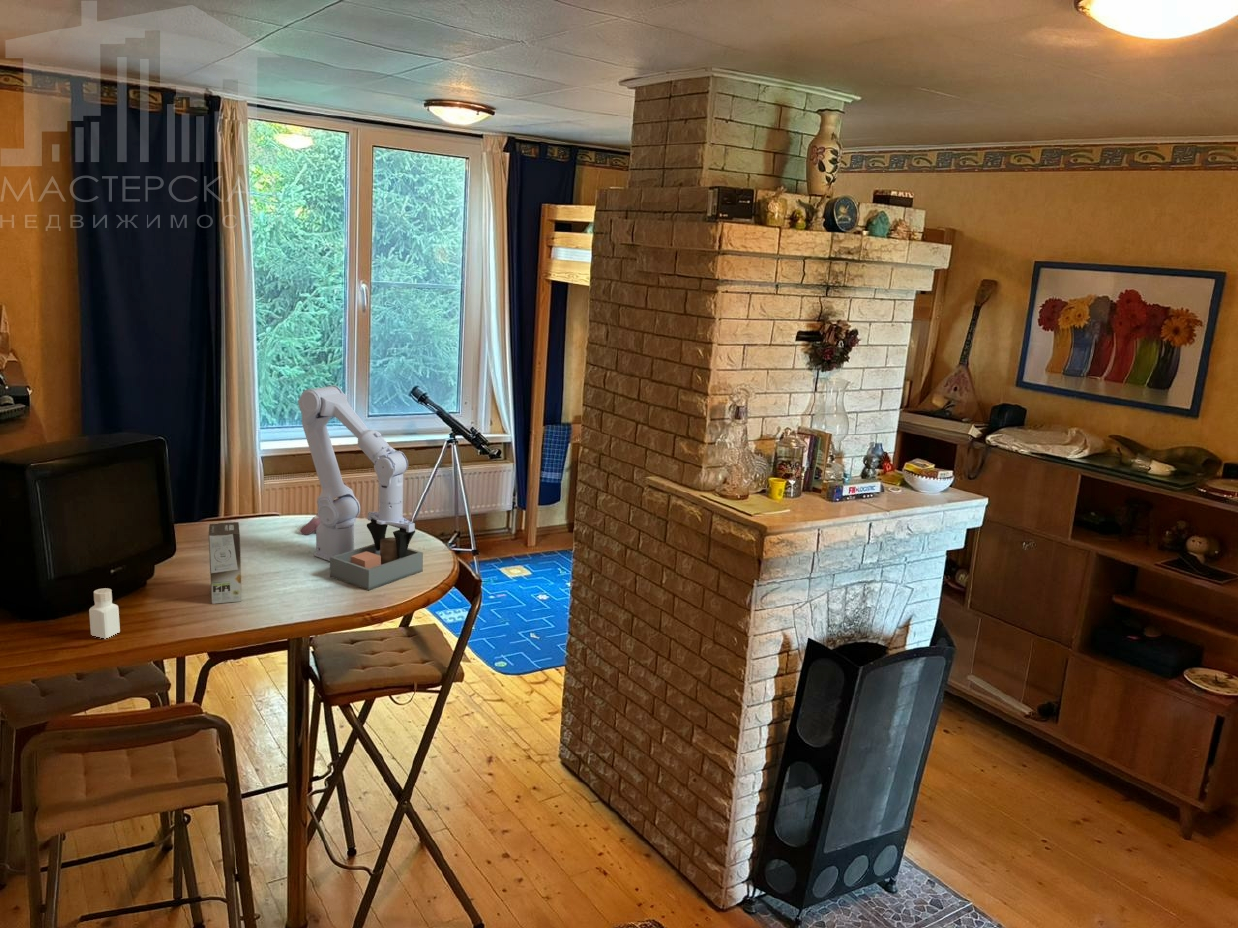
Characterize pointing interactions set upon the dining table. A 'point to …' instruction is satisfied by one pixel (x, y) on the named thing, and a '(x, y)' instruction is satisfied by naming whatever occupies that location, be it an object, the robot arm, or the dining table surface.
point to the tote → (374, 568)
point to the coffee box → (225, 562)
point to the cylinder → (388, 550)
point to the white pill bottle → (104, 615)
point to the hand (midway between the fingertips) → (390, 553)
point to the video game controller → (311, 526)
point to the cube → (366, 559)
